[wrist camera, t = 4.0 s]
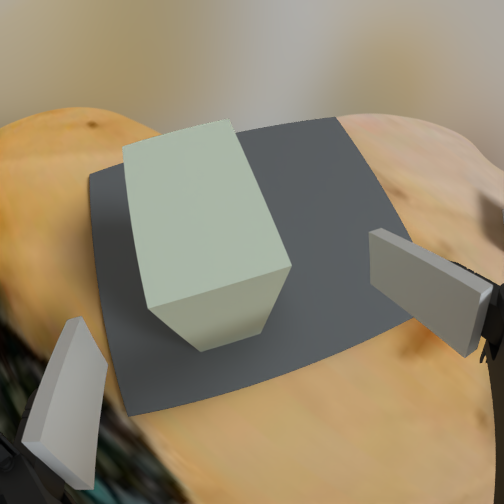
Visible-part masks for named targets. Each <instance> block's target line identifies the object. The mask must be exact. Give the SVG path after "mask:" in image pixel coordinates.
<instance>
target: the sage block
mask: <svg viewBox="0 0 504 504" xmlns="http://www.w3.org/2000/svg"><path fill="white" fill-rule="evenodd" d="M122 150H123V161H124V171H125V180H126V188H127V196H128V204H129V211H130V218H131V224H132V231H133V237H134V243H135V248H136V254H137V259H138V265H139V270H140V275H141V280H142V284H143V289H144V294H145V298H146V303H147V307H148V309H149V310H150V311H151V312H152V313H153V314H155V315H156V316H157V317H158V318H159V319H160V320H162V321H163V322H164V323H165V324H166V325H168V326H169V327H170V328H171V329H172V330H174V331H175V332H176V333H177V334H179V335H180V336H181V337H182V338H183V339H185V340H186V341H187V342H188V343H190V344H191V345H192V346H193V347H195V348H196V349H197V350H199V351H200V352H202V351H206V350H209V349H213V348H216V347H219V346H223V345H226V344H229V343H233V342H236V341H239V340H242V339H245V338H248V337H251V336H255V335H258V334H260V333H261V331H262V329H263V327H264V325H265V323H266V321H267V319H268V317H269V315H270V312H271V310H272V308H273V306H274V304H275V302H276V300H277V297H278V295H279V293H280V291H281V289H282V287H283V284H284V282H285V280H286V278H287V276H288V273H289V271H290V269H291V267H292V264H291V262H290V260H289V257H288V255H287V252H286V250H285V247H284V245H283V243H282V240H281V238H280V235H279V233H278V230H277V228H276V226H275V223H274V221H273V219H272V216H271V214H270V211H269V209H268V207H267V204H266V202H265V200H264V197H263V195H262V193H261V190H260V188H259V186H258V183H257V181H256V179H255V177H254V174H253V172H252V170H251V167H250V165H249V163H248V161H247V158H246V156H245V154H244V151H243V149H242V147H241V145H240V143H239V140H238V138H237V136H236V134H235V131H234V129H233V127H232V125H231V123H230V120H229V119H225V120H221V121H216V122H211V123H206V124H202V125H198V126H194V127H190V128H186V129H182V130H178V131H174V132H170V133H167V134H163V135H159V136H156V137H152V138H149V139H145V140H142V141H139V142H135V143H132V144H129V145H126V146H123V147H122Z"/></svg>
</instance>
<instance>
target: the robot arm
mask: <svg viewBox="0 0 504 504" xmlns="http://www.w3.org/2000/svg"><path fill="white" fill-rule="evenodd" d="M369 252H370V284H371V285H373V286H374V287H375V288H377V289H378V290H379V291H381V292H382V293H383V294H385V295H386V296H387V297H388V298H390V299H391V300H392V301H394V302H395V303H396V304H398V305H399V306H400V307H402V308H403V309H404V310H405V311H407V312H408V313H409V314H411V315H412V316H413V317H414V318H416V319H417V320H418V321H419V322H421V323H422V324H423V325H425V326H426V327H427V328H428V329H430V330H431V331H432V332H433V333H435V334H436V335H437V336H438V337H440V338H441V339H442V340H443V341H444V342H446V343H447V344H448V345H449V346H451V347H452V348H453V349H454V350H455V351H457V352H458V353H459V354H460V355H462V356H463V357H464V358H466V357H467V356H468V355H470V354H471V353H472V352H473V351H475V350H476V349H477V347H478V344H479V341H480V337H481V336H482V337H484V338H485V339H486V342H485V345H484V348H483V351H482V354H481V357H480V363H482V362H483V359H484V356H485V355H486V358H487V359H486V363H487V364H488V370H489V376H490V383H491V391H492V399H493V409H494V422H495V441H496V474H495V493H494V504H504V283H503V284H502V285H501V286H499V285H497V284H496V283H494V282H492V281H490V280H488V279H487V278H485V277H483V276H481V275H479V274H478V273H474V271H472V270H470V269H467V268H466V267H464V266H463V265H461V264H459V263H456V262H452V261H449V260H446V259H444V258H442V257H440V256H438V255H436V254H434V253H432V252H430V251H428V250H426V249H424V248H422V247H420V246H418V245H416V244H414V243H412V242H410V241H408V240H406V239H404V238H402V237H400V236H398V235H395V234H393V233H391V232H389V231H387V230H385V229H383V228H379V229H376V230H373V231H370V232H369ZM107 368H108V364H107V362H106V360H105V358H104V357H103V355H102V353H101V351H100V350H99V348H98V346H97V344H96V342H95V341H94V339H93V337H92V335H91V333H90V331H89V329H88V327H87V325H86V324H85V322H84V320H83V318H82V316H79V317H76V318H72V319H68V320H67V321H66V324H65V326H64V328H63V330H62V332H61V335H60V337H59V339H58V341H57V344H56V346H55V348H54V351H53V353H52V355H51V358H50V360H49V363H48V365H47V368H46V370H45V373H44V375H43V378H42V380H41V383H40V386H39V388H36V389H35V390H34V391H33V393H32V394H31V396H30V397H29V398H28V401H27V404H26V406H25V411H24V412H23V415H22V419H21V421H20V424H19V427H18V430H17V434H16V437H15V440H14V444H13V445H12V444H11V443H10V442H9V441H8V439H7V438H6V437H5V436H4V435H3V434H2V433H1V432H0V504H76V502H75V501H74V500H73V498H72V497H71V496H70V494H69V493H67V492H66V491H65V490H64V483H65V482H66V483H67V484H69V485H70V486H71V487H73V488H74V489H75V490H92V489H94V476H95V461H96V449H97V439H98V430H99V421H100V413H101V406H102V399H103V392H104V386H105V380H106V374H107Z"/></svg>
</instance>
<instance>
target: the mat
mask: <svg viewBox="0 0 504 504" xmlns="http://www.w3.org/2000/svg"><path fill="white" fill-rule="evenodd" d="M235 134H236V136H237V138H238V140H239V143H240V145H241V147H242V149H243V151H244V154H245V156H246V158H247V161H248V163H249V165H250V167H251V170H252V172H253V174H254V177H255V179H256V181H257V183H258V186H259V188H260V190H261V193H262V195H263V197H264V200H265V202H266V204H267V207H268V209H269V211H270V214H271V216H272V219H273V221H274V223H275V226H276V228H277V230H278V233H279V235H280V238H281V240H282V243H283V245H284V247H285V250H286V252H287V255H288V257H289V260H290V262H291V264H292V267H291V269H290V271H289V273H288V276H287V278H286V280H285V282H284V284H283V287H282V289H281V291H280V293H279V295H278V297H277V300H276V302H275V304H274V306H273V308H272V310H271V312H270V315H269V317H268V319H267V321H266V323H265V325H264V327H263V329H262V331H261V333H260V334H258V335H255V336H251V337H248V338H245V339H242V340H239V341H236V342H233V343H229V344H226V345H223V346H219V347H216V348H213V349H209V350H206V351H202V352H200V351H199V350H197V349H196V348H195V347H193V346H192V345H191V344H190V343H188V342H187V341H186V340H185V339H183V338H182V337H181V336H180V335H179V334H177V333H176V332H175V331H174V330H172V329H171V328H170V327H169V326H168V325H166V324H165V323H164V322H163V321H162V320H160V319H159V318H158V317H157V316H156V315H155V314H153V313H152V312H151V311H150V310H149V309H148V307H147V303H146V298H145V294H144V289H143V284H142V280H141V275H140V270H139V265H138V259H137V254H136V248H135V243H134V237H133V231H132V224H131V218H130V211H129V204H128V196H127V188H126V180H125V171H124V163H121V164H118V165H115V166H112V167H109V168H106V169H103V170H101V171H98V172H95V173H92V174H90V206H91V223H92V236H93V247H94V256H95V265H96V273H97V281H98V288H99V294H100V300H101V306H102V312H103V318H104V323H105V328H106V333H107V338H108V343H109V347H110V352H111V356H112V360H113V365H114V369H115V373H116V376H117V380H118V384H119V388H120V391H121V395H122V398H123V402H124V405H125V408H126V412H127V415H128V417H129V416H135V415H140V414H145V413H150V412H154V411H159V410H163V409H168V408H172V407H176V406H180V405H184V404H188V403H192V402H196V401H200V400H204V399H207V398H211V397H215V396H218V395H222V394H225V393H228V392H232V391H235V390H238V389H241V388H245V387H248V386H251V385H254V384H257V383H260V382H263V381H266V380H269V379H272V378H275V377H277V376H280V375H283V374H286V373H289V372H291V371H294V370H297V369H299V368H302V367H305V366H307V365H310V364H312V363H315V362H317V361H320V360H322V359H325V358H327V357H330V356H332V355H334V354H337V353H339V352H342V351H344V350H346V349H348V348H351V347H353V346H355V345H357V344H360V343H362V342H364V341H366V340H368V339H371V338H373V337H375V336H377V335H379V334H381V333H383V332H385V331H387V330H389V329H391V328H393V327H395V326H397V325H399V324H401V323H403V322H405V321H407V320H409V319H411V318H413V316H412V315H411V314H409V313H408V312H407V311H405V310H404V309H403V308H402V307H400V306H399V305H398V304H396V303H395V302H394V301H392V300H391V299H390V298H388V297H387V296H386V295H385V294H383V293H382V292H381V291H379V290H378V289H377V288H375V287H374V286H373V285H371V284H370V252H369V232H370V231H373V230H376V229H379V228H383V229H385V230H387V231H389V232H391V233H393V234H395V235H398V236H400V237H402V238H404V239H406V240H408V241H410V242H412V240H411V238H410V236H409V234H408V232H407V230H406V229H405V227H404V225H403V223H402V221H401V219H400V218H399V216H398V214H397V212H396V210H395V209H394V207H393V205H392V203H391V202H390V200H389V198H388V196H387V195H386V193H385V191H384V190H383V188H382V186H381V185H380V183H379V181H378V180H377V178H376V176H375V175H374V173H373V172H372V170H371V168H370V167H369V165H368V164H367V162H366V161H365V159H364V158H363V156H362V155H361V153H360V152H359V150H358V149H357V147H356V146H355V144H354V143H353V141H352V140H351V138H350V137H349V135H348V134H347V133H346V131H345V130H344V128H343V127H342V125H341V124H340V123H339V121H338V120H337V119H336V117H331V118H322V119H315V120H307V121H300V122H294V123H287V124H281V125H275V126H270V127H264V128H258V129H253V130H249V131H243V132H238V133H235ZM412 243H413V242H412Z"/></svg>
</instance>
